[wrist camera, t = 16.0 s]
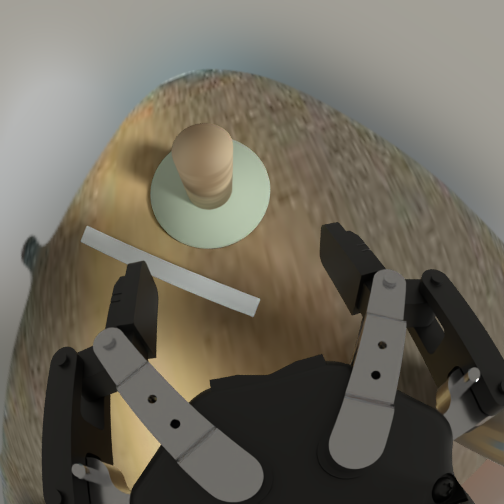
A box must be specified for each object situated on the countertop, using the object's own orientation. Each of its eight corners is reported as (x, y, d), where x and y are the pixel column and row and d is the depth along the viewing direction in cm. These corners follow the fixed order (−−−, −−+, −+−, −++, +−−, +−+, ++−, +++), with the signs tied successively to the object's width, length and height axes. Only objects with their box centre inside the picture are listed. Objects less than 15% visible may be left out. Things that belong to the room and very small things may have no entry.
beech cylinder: (228, 164, 27) (228, 119, 19) (236, 205, 27) (238, 169, 19) (184, 171, 27) (169, 129, 19) (190, 213, 26) (174, 181, 18)
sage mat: (254, 131, 29) (255, 128, 28) (281, 235, 27) (282, 233, 27) (147, 152, 28) (145, 149, 27) (160, 260, 26) (159, 259, 25)
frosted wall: (254, 297, 26) (260, 298, 21) (248, 312, 26) (253, 317, 21) (108, 236, 26) (86, 225, 21) (103, 250, 26) (80, 241, 21)
